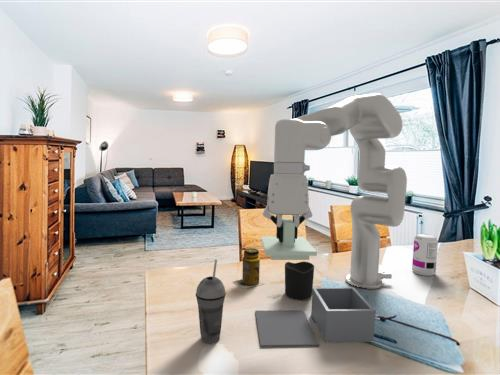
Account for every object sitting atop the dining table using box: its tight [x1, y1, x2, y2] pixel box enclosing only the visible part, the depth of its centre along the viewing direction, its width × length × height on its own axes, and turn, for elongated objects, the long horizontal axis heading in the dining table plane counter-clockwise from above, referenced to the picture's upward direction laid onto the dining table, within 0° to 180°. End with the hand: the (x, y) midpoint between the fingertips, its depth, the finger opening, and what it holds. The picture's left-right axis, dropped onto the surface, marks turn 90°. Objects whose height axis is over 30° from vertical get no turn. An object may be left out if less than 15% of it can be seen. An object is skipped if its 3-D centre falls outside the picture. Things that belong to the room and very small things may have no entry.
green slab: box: [260, 217, 318, 261], centre depth 82 cm, size 12×14×8 cm
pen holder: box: [284, 261, 315, 301], centre depth 104 cm, size 9×9×10 cm
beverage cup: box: [195, 259, 226, 345], centre depth 78 cm, size 7×7×20 cm
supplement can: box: [411, 233, 439, 277], centre depth 127 cm, size 8×8×15 cm
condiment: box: [232, 247, 265, 290], centre depth 113 cm, size 7×8×12 cm
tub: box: [310, 286, 376, 343], centre depth 85 cm, size 12×14×8 cm
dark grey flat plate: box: [255, 309, 320, 348], centre depth 84 cm, size 14×17×1 cm
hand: (286, 240), depth 82 cm, fingers closed on green slab, 2 cm apart
